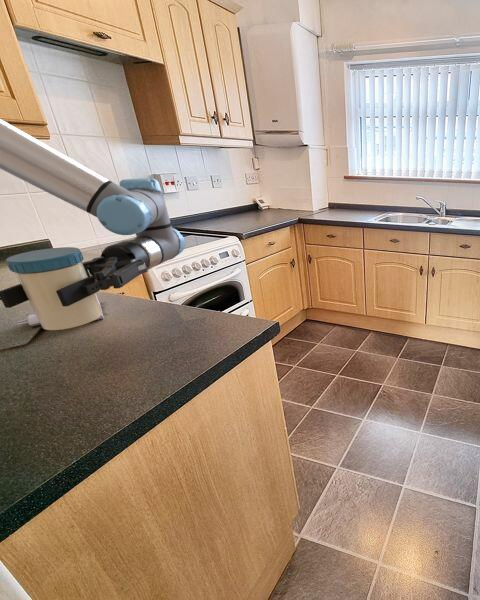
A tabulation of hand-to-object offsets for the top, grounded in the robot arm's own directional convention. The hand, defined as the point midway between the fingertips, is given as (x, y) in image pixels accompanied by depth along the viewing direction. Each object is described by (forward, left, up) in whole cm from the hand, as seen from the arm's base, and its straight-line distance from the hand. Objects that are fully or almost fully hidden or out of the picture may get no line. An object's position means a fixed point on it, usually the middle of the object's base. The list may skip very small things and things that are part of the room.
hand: (33, 299), depth 53 cm
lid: (+2, +4, +6) cm, 7 cm away
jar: (+2, +4, -6) cm, 8 cm away
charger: (-10, +36, -18) cm, 42 cm away
